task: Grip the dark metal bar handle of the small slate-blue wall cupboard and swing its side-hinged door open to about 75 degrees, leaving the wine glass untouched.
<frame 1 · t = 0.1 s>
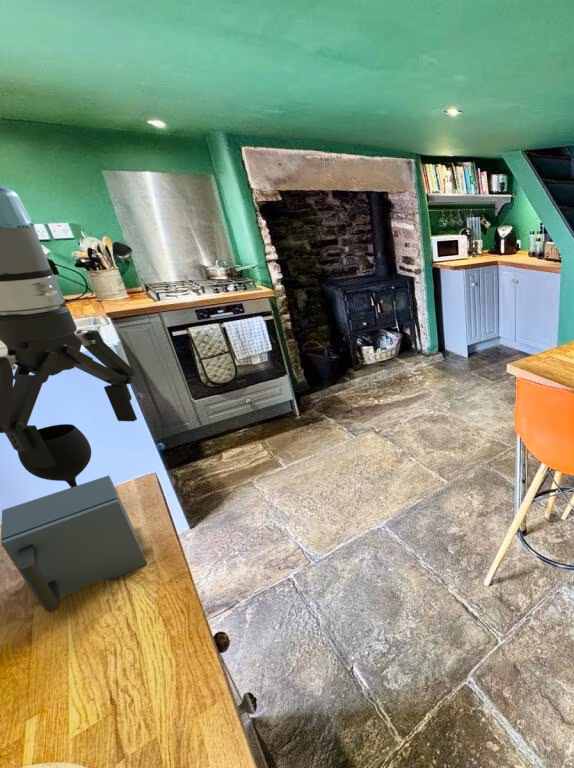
hand: (89, 441, 64), 32 cm above the countertop, tool pointing down, fingers open, 13 cm apart
cupboard: (95, 567, 79), on the countertop
cupboard door: (83, 562, 71), point 8 cm above the countertop, hinge at 0.0°
wine glass: (84, 507, 95), on the countertop
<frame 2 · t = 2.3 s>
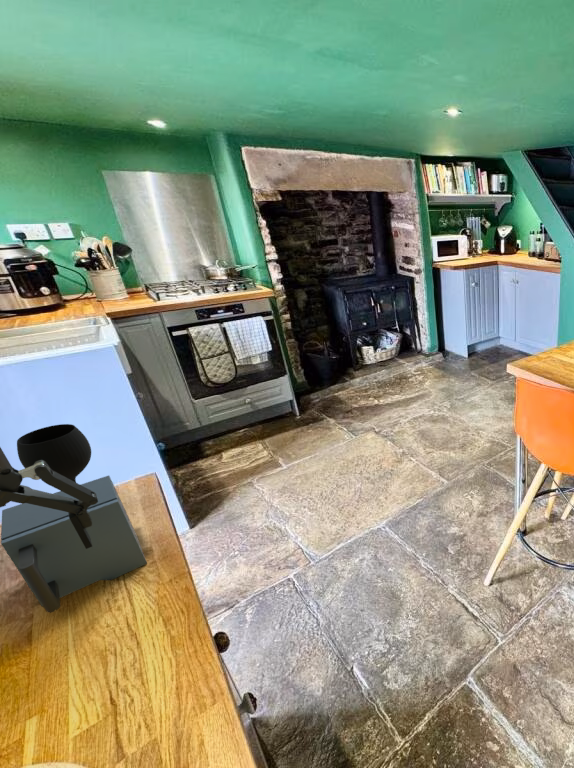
hand: (28, 568, 63), 14 cm above the countertop, tool pointing down, fingers open, 13 cm apart
nothing on the countertop moved.
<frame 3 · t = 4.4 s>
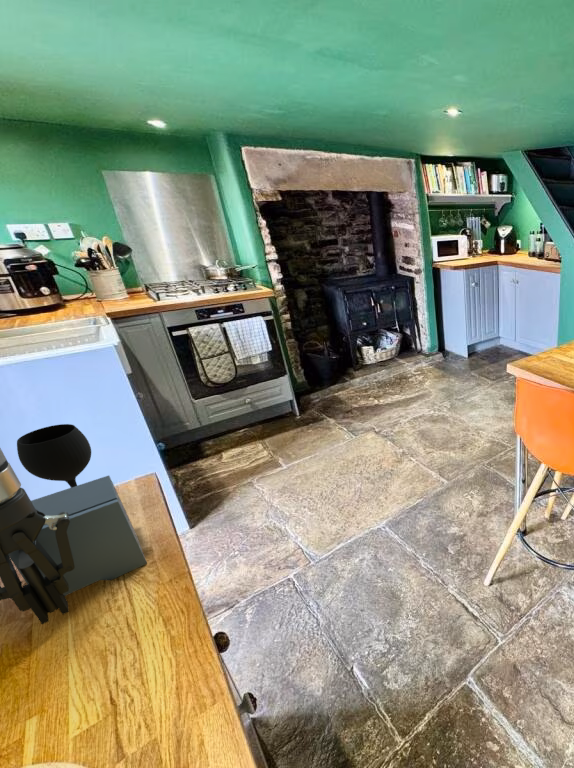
hand: (55, 612, 67), 3 cm above the countertop, tool pointing down, fingers closed on cupboard door, 2 cm apart
cupboard door: (83, 562, 71), point 8 cm above the countertop, hinge at 0.1°, touching gripper
everything else where it was.
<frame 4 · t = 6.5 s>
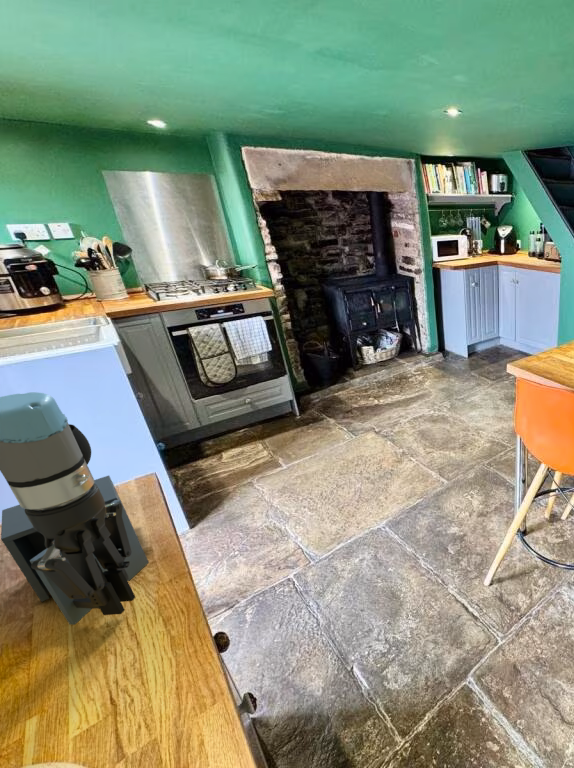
hand: (119, 605, 68), 3 cm above the countertop, tool pointing down, fingers closed on cupboard door, 2 cm apart
cupboard door: (114, 562, 71), point 8 cm above the countertop, hinge at 39.8°, touching gripper
everything else where it was.
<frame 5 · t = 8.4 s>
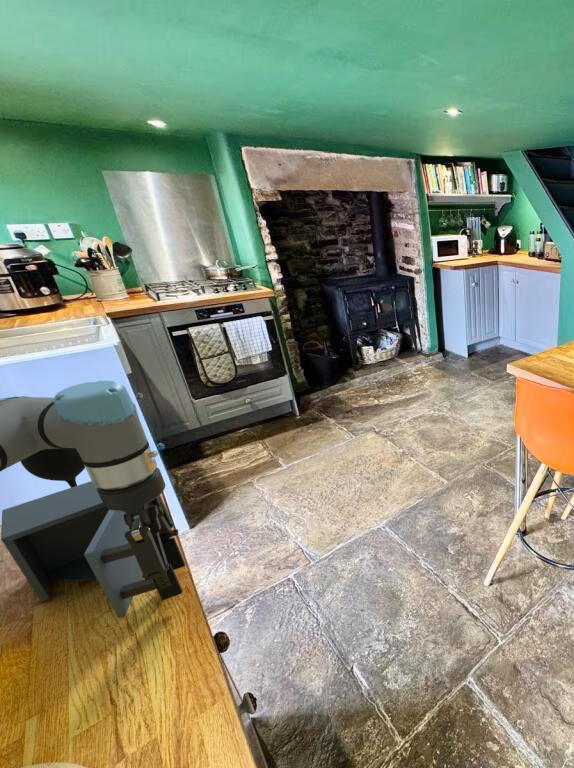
hand: (174, 581, 73), 4 cm above the countertop, tool pointing down, fingers open, 6 cm apart
cupboard door: (143, 552, 73), point 8 cm above the countertop, hinge at 69.2°
everything else where it was.
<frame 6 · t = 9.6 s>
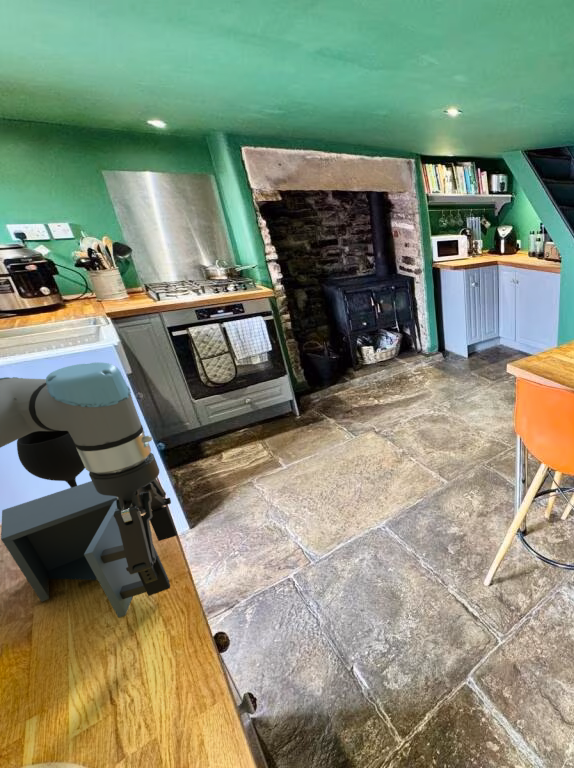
hand: (164, 562, 71), 8 cm above the countertop, tool pointing down, fingers open, 13 cm apart
nothing on the countertop moved.
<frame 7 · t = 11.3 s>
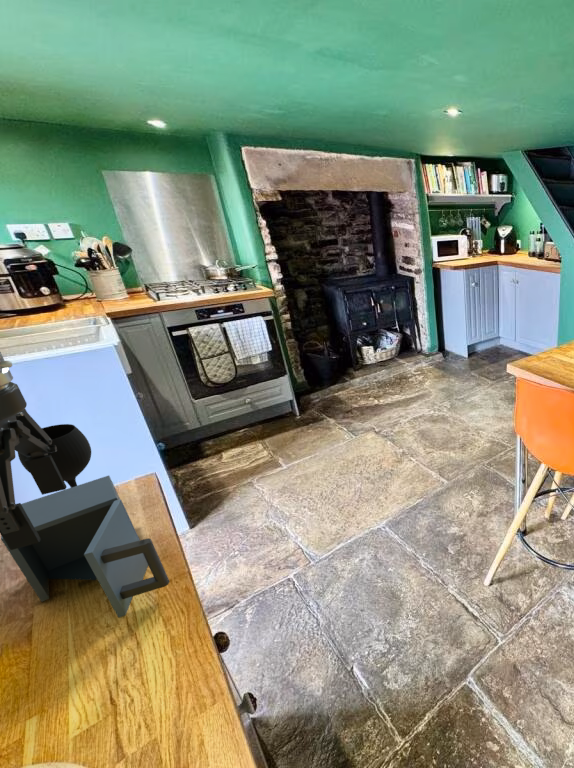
hand: (41, 515, 61), 22 cm above the countertop, tool pointing down, fingers open, 13 cm apart
nothing on the countertop moved.
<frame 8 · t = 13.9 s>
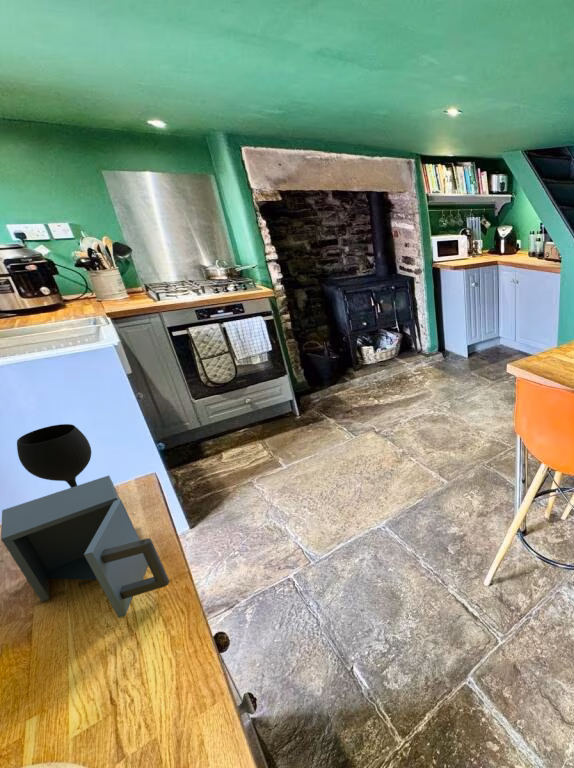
nothing on the countertop moved.
at the end: cupboard door at +69° (first picture: +0°); wine glass moved 0.2 cm from its start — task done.
